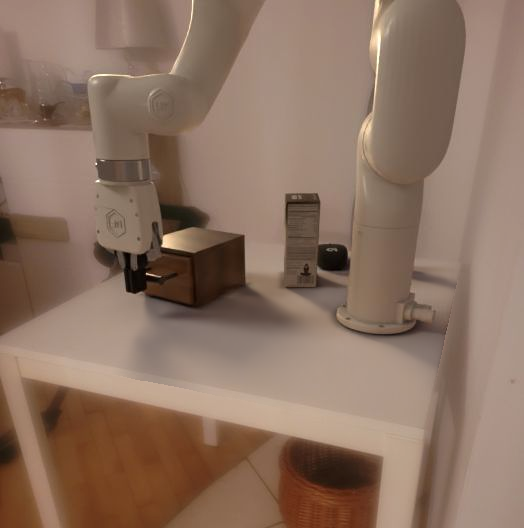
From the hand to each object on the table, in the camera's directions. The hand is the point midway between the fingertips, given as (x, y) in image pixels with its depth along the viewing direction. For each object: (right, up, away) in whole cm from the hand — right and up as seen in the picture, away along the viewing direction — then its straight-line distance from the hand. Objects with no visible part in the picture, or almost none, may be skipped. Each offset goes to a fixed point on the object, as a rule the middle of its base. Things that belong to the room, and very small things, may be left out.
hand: (136, 290), depth 80 cm
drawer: (+6, +1, +10) cm, 11 cm away
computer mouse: (+35, +9, +28) cm, 46 cm away
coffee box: (+28, +4, +18) cm, 33 cm away
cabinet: (+8, +2, +13) cm, 15 cm away
